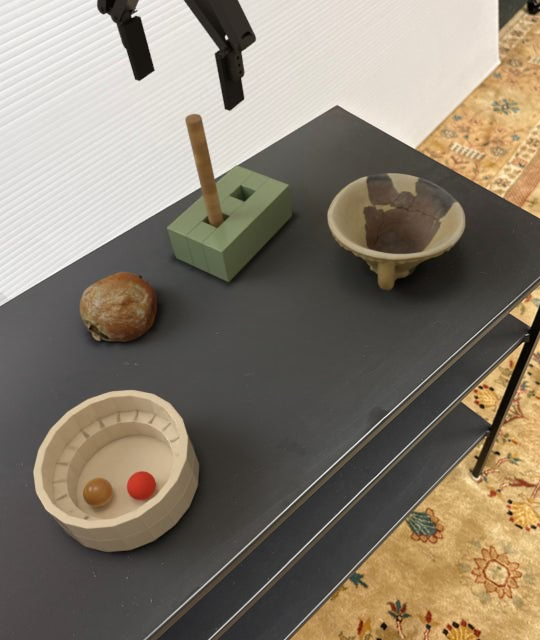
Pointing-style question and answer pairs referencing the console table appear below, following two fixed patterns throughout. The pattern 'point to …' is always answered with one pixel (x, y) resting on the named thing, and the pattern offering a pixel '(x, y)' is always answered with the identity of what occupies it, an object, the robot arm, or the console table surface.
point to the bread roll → (118, 307)
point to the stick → (204, 168)
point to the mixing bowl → (117, 469)
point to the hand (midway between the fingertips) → (188, 89)
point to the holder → (232, 223)
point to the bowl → (395, 223)
